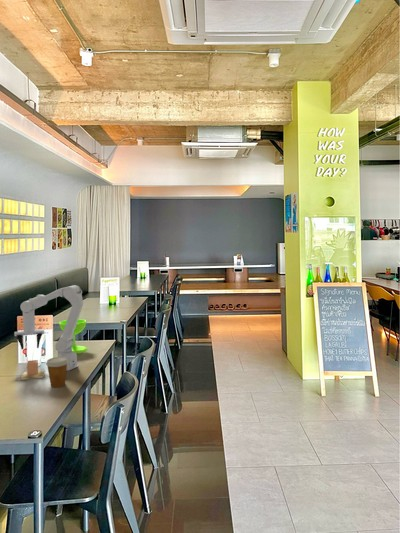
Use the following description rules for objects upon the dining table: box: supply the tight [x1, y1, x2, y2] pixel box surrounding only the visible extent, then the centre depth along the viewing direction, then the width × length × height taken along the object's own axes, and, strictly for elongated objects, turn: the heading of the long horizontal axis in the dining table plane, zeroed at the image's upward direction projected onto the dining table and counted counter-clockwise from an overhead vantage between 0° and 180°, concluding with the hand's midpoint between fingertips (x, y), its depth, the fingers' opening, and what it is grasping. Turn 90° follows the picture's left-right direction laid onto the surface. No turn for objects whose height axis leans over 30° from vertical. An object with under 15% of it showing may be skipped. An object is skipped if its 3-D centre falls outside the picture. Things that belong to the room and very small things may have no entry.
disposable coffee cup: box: [45, 356, 68, 388], centre depth 188 cm, size 10×10×12 cm
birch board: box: [20, 370, 45, 381], centre depth 201 cm, size 10×7×2 cm
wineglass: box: [58, 318, 88, 354], centre depth 248 cm, size 16×16×18 cm
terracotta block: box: [26, 359, 39, 375], centre depth 201 cm, size 4×4×6 cm
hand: (30, 348), depth 215 cm, fingers open, 7 cm apart
